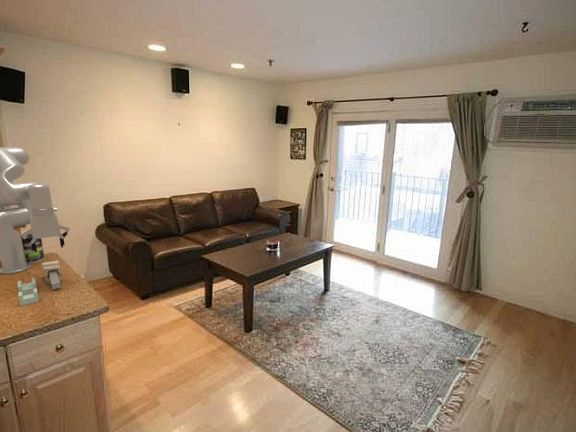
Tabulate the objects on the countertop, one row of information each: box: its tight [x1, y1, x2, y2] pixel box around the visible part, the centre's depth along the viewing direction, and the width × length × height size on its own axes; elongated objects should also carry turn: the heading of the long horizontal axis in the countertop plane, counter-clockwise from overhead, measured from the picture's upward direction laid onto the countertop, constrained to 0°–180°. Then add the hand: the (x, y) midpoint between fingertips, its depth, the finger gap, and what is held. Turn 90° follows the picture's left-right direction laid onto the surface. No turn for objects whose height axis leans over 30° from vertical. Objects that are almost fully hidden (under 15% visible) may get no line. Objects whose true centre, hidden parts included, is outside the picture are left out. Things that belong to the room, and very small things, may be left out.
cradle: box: [16, 277, 40, 307], centre depth 142 cm, size 18×6×4 cm, turn 40°
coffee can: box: [21, 233, 46, 264], centre depth 179 cm, size 10×10×14 cm
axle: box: [47, 269, 61, 290], centre depth 153 cm, size 16×3×3 cm, turn 40°
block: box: [41, 259, 63, 285], centre depth 158 cm, size 10×6×8 cm, turn 40°
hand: (49, 249), depth 146 cm, fingers open, 9 cm apart
